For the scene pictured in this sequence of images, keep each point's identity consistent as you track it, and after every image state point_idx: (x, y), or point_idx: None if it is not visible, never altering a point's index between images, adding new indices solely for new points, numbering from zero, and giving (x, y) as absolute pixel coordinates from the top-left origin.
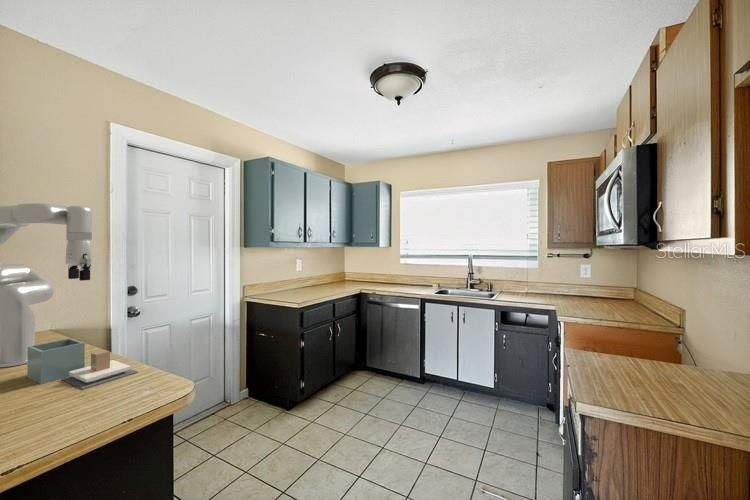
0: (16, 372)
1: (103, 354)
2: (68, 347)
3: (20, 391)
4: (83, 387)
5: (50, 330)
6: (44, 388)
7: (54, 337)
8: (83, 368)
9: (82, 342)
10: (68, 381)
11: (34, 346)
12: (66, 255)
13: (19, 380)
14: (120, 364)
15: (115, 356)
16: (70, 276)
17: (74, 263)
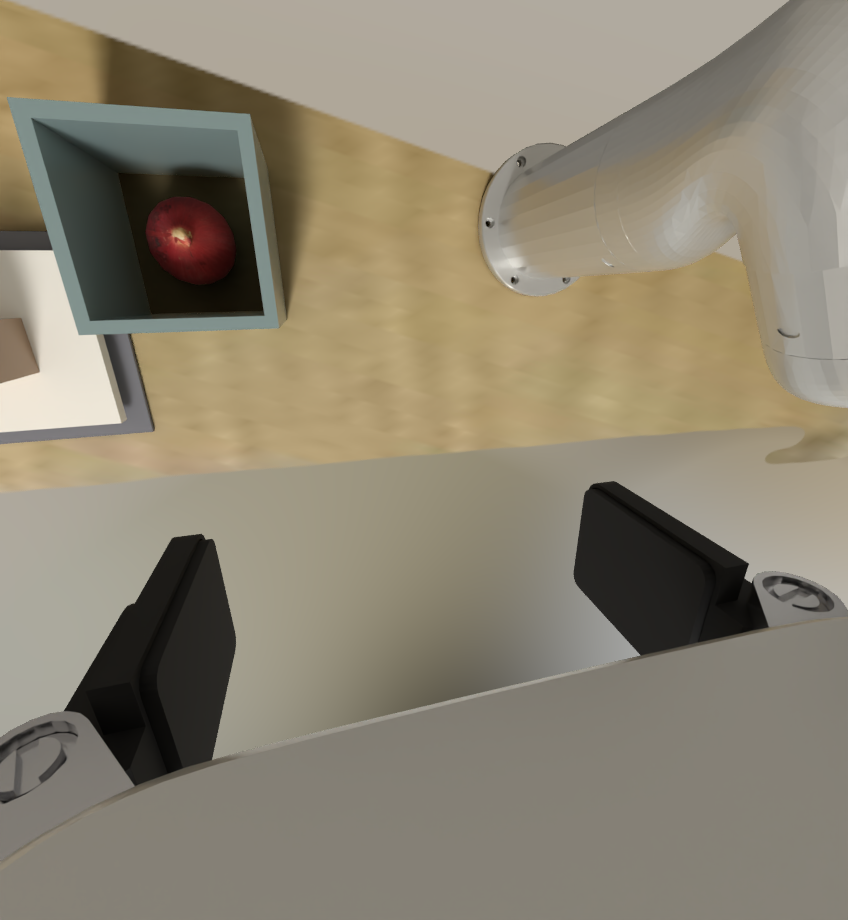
0: (386, 169)
1: None
2: (59, 253)
3: (57, 70)
4: None
5: (842, 430)
6: (17, 144)
7: (745, 411)
8: None
9: (98, 331)
10: (22, 232)
11: (240, 147)
12: None
13: None
14: (4, 420)
15: (284, 465)
16: (606, 513)
17: (97, 866)
